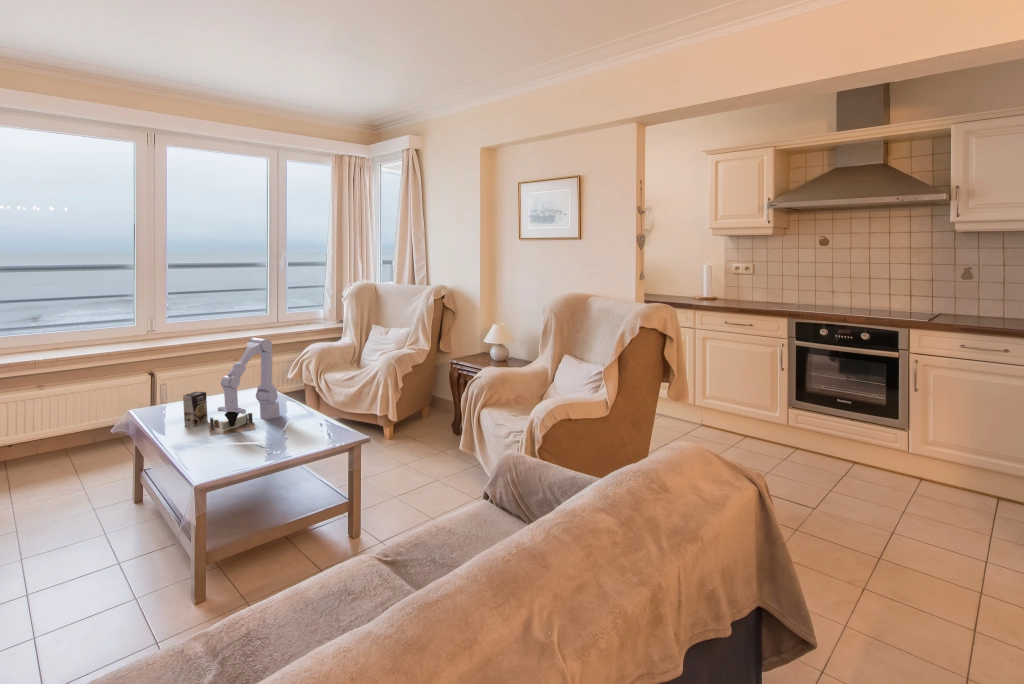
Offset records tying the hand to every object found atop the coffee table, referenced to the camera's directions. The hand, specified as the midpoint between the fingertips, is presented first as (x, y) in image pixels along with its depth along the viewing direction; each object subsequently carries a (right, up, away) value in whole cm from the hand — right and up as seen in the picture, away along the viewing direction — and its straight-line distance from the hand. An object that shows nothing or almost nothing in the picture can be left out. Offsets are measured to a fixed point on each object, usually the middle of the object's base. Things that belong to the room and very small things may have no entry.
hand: (232, 426), depth 276 cm
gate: (-1, 0, +4) cm, 5 cm away
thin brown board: (-3, -2, +5) cm, 6 cm away
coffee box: (-23, 0, +9) cm, 25 cm away
